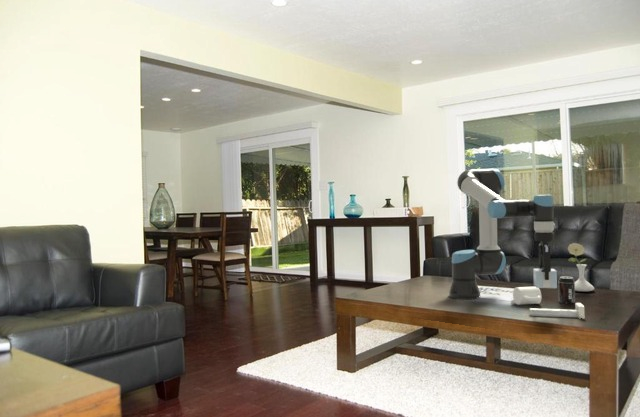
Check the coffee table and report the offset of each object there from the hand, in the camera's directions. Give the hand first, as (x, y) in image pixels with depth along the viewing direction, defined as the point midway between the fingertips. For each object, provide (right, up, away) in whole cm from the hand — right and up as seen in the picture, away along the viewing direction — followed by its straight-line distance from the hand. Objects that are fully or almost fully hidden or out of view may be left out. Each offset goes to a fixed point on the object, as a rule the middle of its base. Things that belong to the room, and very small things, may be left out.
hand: (545, 285), depth 209 cm
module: (0, 0, 0) cm, 0 cm away
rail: (+3, -12, -1) cm, 13 cm away
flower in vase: (+41, -11, +51) cm, 66 cm away
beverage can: (+21, -12, +23) cm, 33 cm away
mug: (+2, -12, +22) cm, 25 cm away
